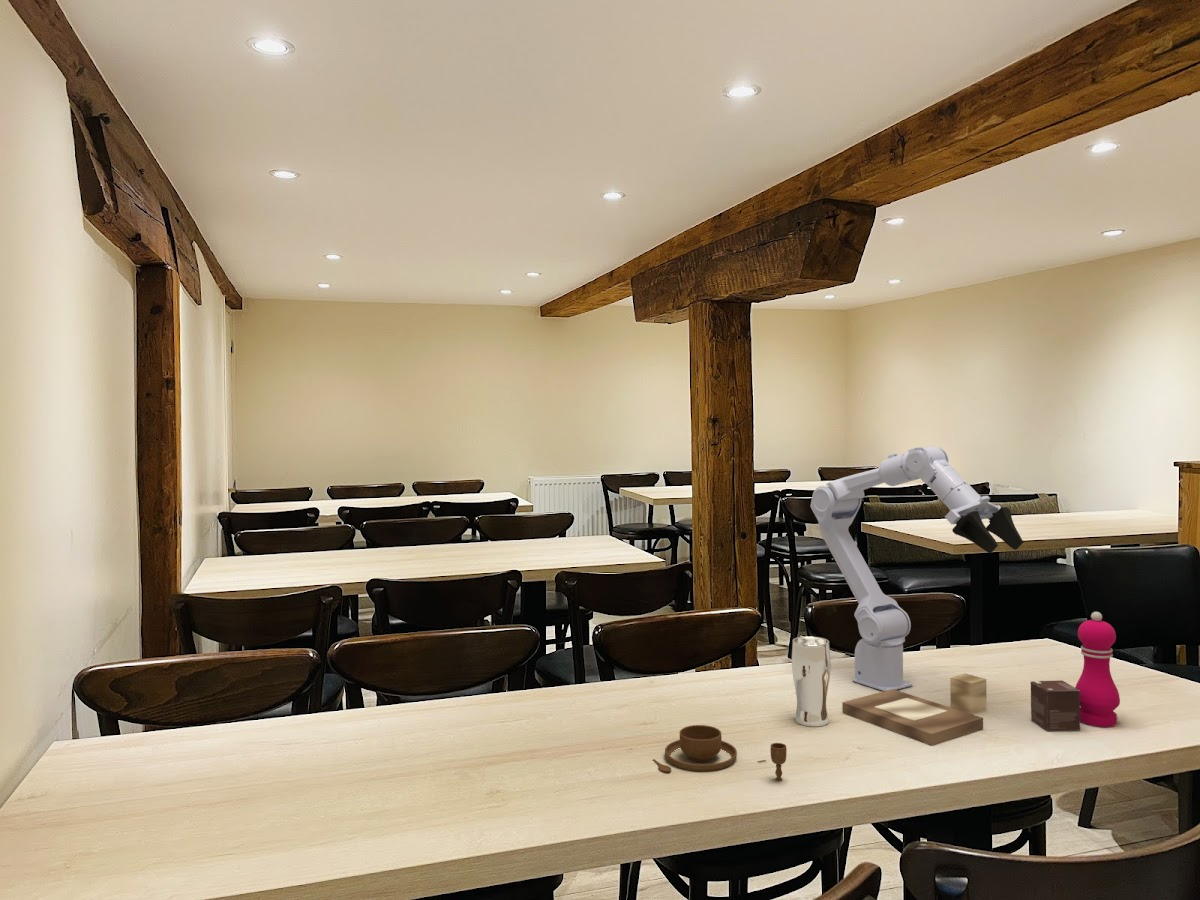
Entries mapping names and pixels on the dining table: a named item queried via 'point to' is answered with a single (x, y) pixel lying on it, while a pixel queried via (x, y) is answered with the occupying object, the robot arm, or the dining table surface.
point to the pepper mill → (1097, 673)
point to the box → (1055, 705)
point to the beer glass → (811, 679)
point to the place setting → (711, 750)
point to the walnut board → (913, 716)
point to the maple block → (968, 693)
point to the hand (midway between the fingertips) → (1006, 547)
